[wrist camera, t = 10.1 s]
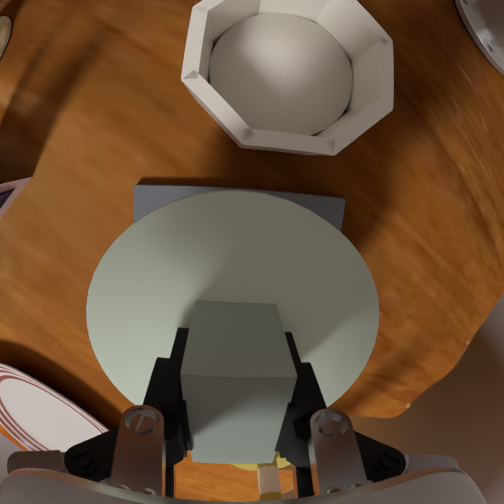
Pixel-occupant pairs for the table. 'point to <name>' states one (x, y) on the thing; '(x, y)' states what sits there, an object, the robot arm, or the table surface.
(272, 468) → the candle
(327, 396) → the lid
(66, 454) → the robot arm
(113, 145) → the table surface
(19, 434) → the dinner plate
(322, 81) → the bowl
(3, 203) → the greeting card
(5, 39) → the hand bell
